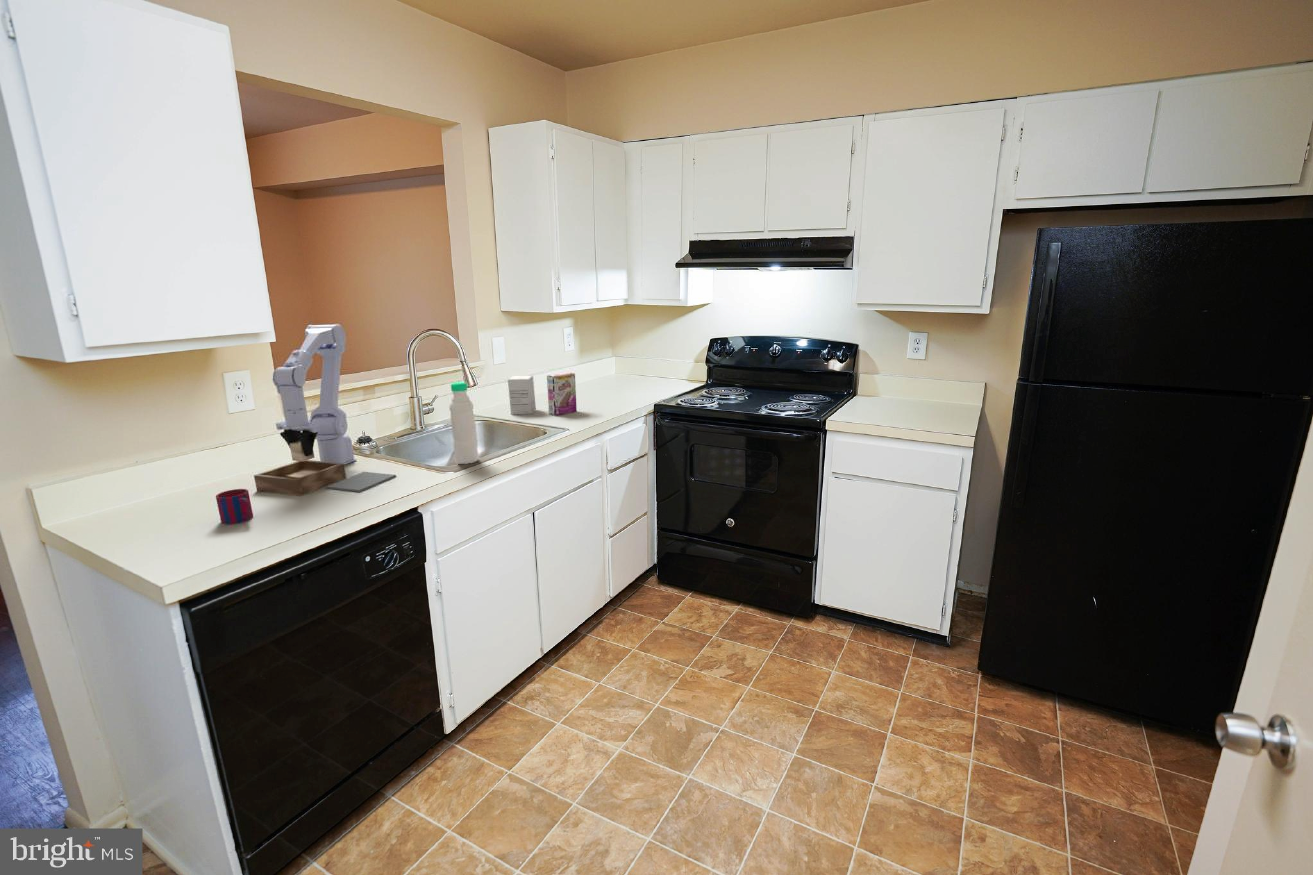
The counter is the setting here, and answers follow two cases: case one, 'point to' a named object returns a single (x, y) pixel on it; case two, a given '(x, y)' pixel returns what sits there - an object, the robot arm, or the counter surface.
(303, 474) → the walnut crate
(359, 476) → the grey mat
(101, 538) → the counter surface
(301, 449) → the birch block
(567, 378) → the candy bar box
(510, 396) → the supplement box
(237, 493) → the mug
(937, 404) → the counter surface
